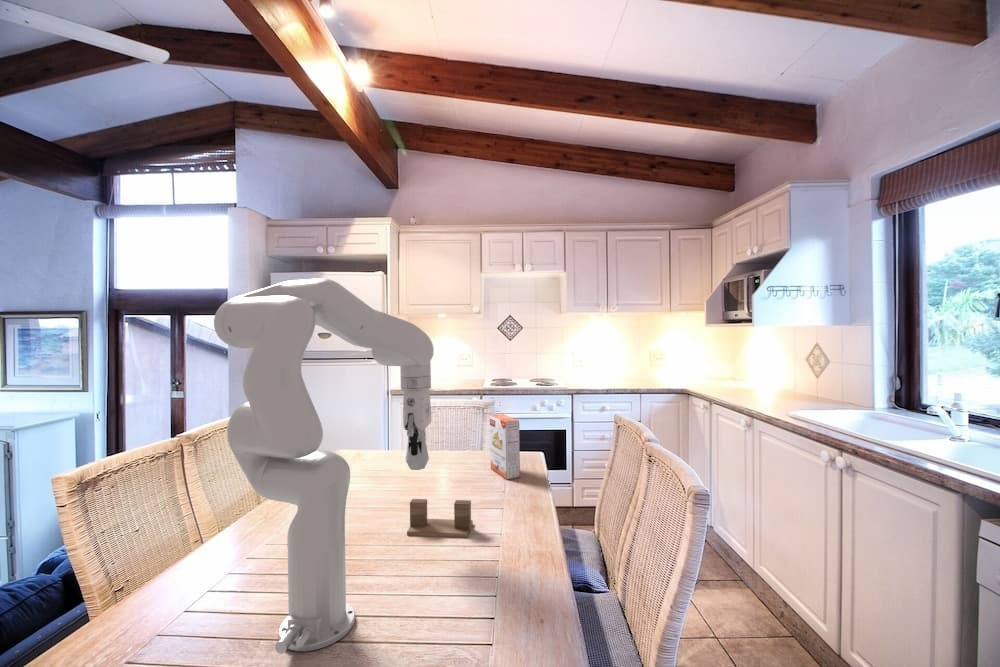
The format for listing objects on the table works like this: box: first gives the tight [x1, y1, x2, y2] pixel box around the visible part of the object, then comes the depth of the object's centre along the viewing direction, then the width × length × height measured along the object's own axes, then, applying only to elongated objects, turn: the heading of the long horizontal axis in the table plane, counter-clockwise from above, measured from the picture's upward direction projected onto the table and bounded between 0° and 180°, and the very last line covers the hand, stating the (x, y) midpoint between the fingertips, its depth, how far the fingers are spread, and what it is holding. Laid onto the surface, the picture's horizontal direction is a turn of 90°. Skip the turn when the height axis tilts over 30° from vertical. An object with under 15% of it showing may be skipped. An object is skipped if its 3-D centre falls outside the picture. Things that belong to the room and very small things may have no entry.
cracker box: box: [489, 413, 521, 481], centre depth 163 cm, size 14×6×21 cm, turn 25°
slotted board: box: [406, 498, 474, 538], centre depth 118 cm, size 8×16×8 cm, turn 84°
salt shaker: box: [405, 427, 430, 471], centre depth 111 cm, size 6×6×13 cm
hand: (417, 454), depth 111 cm, fingers closed on salt shaker, 3 cm apart
